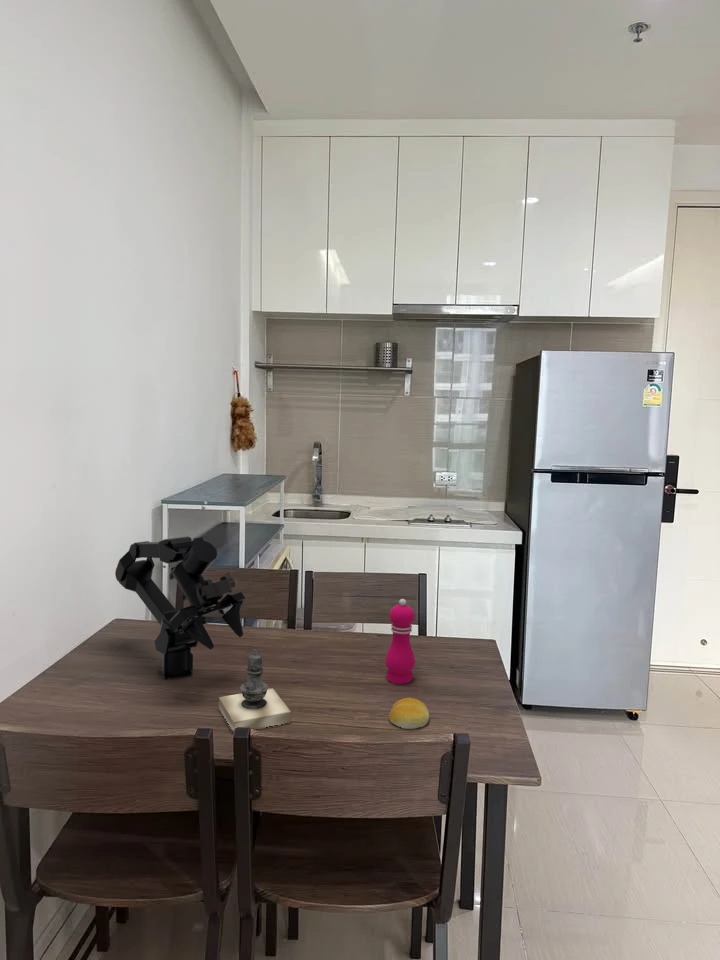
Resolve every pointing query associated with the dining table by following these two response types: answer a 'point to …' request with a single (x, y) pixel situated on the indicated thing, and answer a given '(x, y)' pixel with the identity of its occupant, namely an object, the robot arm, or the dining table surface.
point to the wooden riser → (254, 711)
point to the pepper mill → (400, 645)
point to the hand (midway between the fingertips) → (227, 642)
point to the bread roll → (409, 714)
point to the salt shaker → (254, 683)
